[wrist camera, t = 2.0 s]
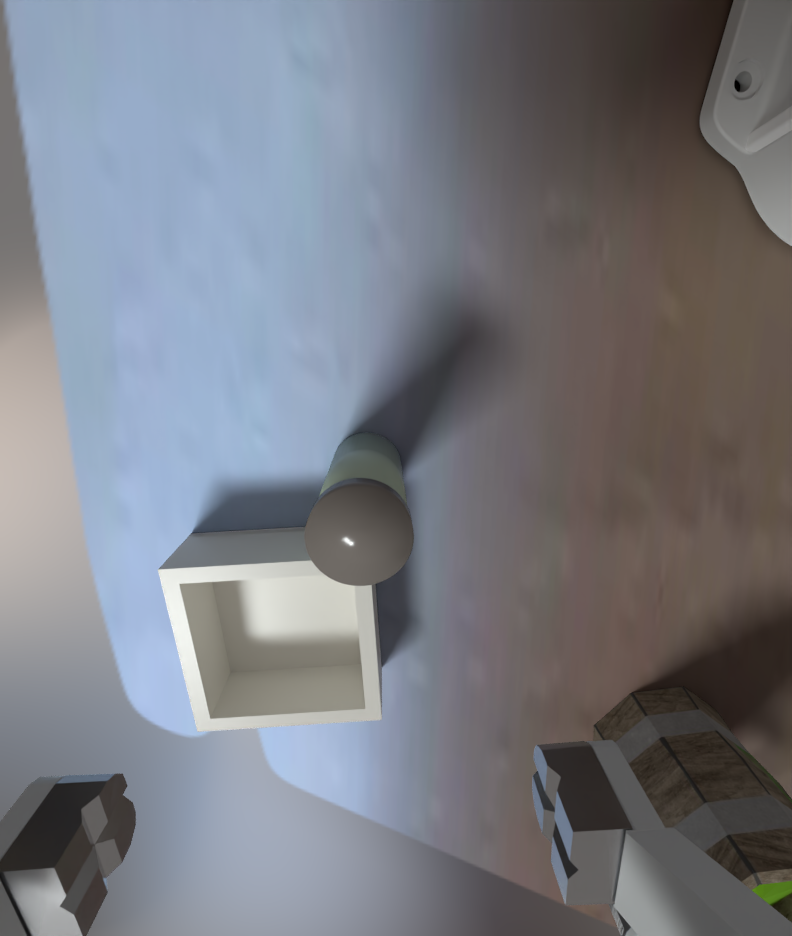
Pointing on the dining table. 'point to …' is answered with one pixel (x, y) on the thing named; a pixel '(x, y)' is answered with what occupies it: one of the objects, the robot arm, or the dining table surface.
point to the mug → (707, 787)
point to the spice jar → (361, 514)
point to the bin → (270, 633)
